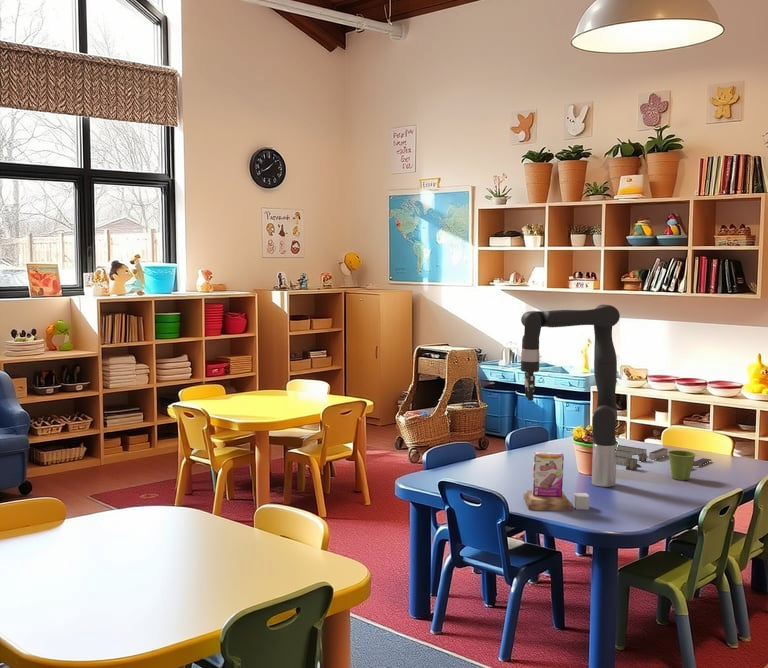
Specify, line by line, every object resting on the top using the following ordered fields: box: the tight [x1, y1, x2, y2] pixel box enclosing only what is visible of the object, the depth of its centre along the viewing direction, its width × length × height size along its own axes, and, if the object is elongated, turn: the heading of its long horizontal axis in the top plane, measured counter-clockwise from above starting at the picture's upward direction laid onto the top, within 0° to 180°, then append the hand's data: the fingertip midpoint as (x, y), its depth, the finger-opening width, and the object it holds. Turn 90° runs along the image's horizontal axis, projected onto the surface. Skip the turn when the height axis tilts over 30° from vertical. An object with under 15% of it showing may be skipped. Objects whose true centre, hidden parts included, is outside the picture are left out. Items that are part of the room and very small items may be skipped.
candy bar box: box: [532, 451, 565, 497], centre depth 338 cm, size 11×5×16 cm, turn 85°
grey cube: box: [573, 492, 590, 510], centre depth 336 cm, size 5×5×5 cm
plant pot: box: [667, 449, 697, 481], centre depth 382 cm, size 12×12×11 cm
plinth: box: [523, 489, 573, 512], centre depth 339 cm, size 16×16×4 cm
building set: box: [615, 444, 712, 472], centre depth 414 cm, size 45×43×5 cm
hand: (529, 398), depth 366 cm, fingers open, 8 cm apart
